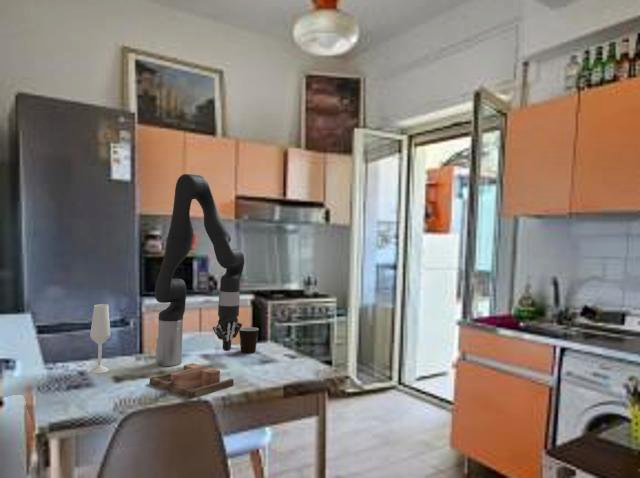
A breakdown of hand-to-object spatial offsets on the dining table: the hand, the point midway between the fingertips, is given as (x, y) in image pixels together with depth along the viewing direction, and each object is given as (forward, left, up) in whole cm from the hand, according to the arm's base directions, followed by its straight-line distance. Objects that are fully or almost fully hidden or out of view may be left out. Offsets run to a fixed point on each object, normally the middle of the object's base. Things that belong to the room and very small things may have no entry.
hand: (226, 350), depth 170 cm
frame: (+1, -15, -9) cm, 17 cm away
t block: (+1, -17, -9) cm, 19 cm away
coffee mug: (-19, +31, -9) cm, 38 cm away
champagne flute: (-37, -28, -9) cm, 47 cm away
